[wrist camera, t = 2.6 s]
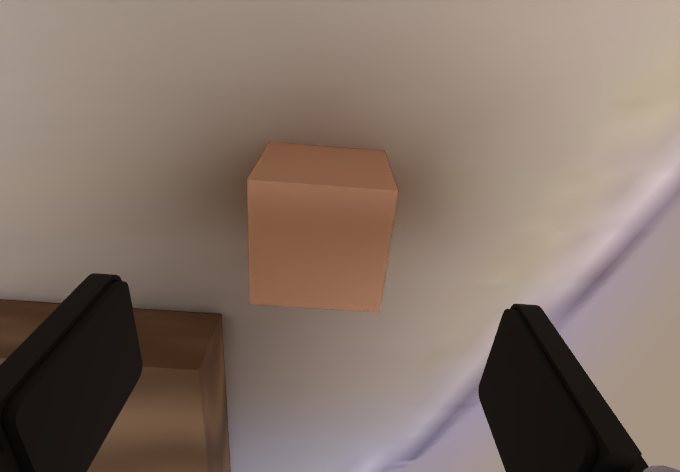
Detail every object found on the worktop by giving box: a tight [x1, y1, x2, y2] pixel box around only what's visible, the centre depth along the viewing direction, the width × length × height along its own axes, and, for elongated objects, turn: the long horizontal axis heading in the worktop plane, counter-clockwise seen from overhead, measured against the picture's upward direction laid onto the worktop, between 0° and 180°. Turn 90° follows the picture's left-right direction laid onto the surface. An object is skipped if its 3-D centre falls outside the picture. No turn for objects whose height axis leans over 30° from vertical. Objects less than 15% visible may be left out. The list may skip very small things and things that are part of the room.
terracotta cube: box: [247, 142, 398, 312], centre depth 17 cm, size 5×5×5 cm
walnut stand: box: [0, 300, 230, 472], centre depth 23 cm, size 14×12×4 cm
